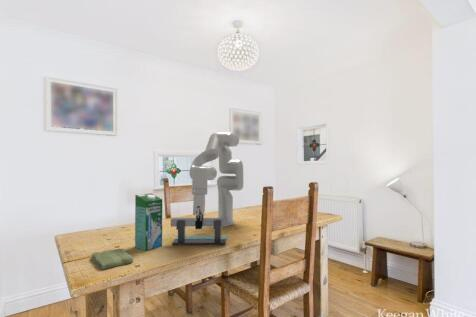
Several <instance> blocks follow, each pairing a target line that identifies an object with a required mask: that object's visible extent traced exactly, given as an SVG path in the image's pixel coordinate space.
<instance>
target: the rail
mask: <svg viewBox="0 0 476 317" xmlns="http://www.w3.org/2000/svg"><path fill="white" fill-rule="evenodd" d="M177 221H184V226H186V227H195V221H196V217H171V219H170V227H172V228H175V227H176V225H177ZM201 221H202V227H214V221H221V227H228V218H218V217H204V218H202V220H201Z"/></svg>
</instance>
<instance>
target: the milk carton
mask: <svg viewBox="0 0 476 317" xmlns="http://www.w3.org/2000/svg"><path fill="white" fill-rule="evenodd" d="M134 198H135V199H134V200H135V204H134V205H135V206H134V207H135V209H134V213H135V214H134V218H135V219H134V223H135V224H134V232H135V233H134V247H135V248H137V249H139V250H143V251H146V252H147V251H149V250H154V249H156V248H159V247H163V199H162V198H160V197H159V196H157V195H155V194H154V193H142V194H136V195H135V197H134Z"/></svg>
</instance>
